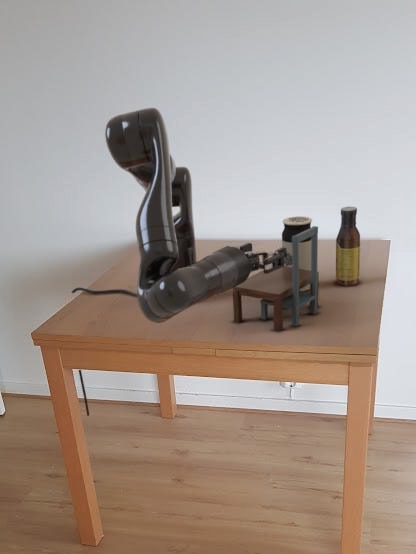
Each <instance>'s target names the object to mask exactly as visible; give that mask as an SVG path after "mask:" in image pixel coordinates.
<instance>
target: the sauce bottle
mask: <svg viewBox="0 0 416 554" xmlns="http://www.w3.org/2000/svg"><path fill="white" fill-rule="evenodd" d="M357 213H358V208H357V207H356V206H343V207H342V208H340V217H341V219H340V220H341V223H340V227H339V231H338V233H337V236H336V239H335V280H336V284H337V285H341V286H347V287H351V286H354V285H358V284H359V282H360V281H359V280H360V275H361V272H360V271H361V233H360V230H359V229H358V227H357Z"/></svg>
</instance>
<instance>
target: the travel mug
mask: <svg viewBox="0 0 416 554" xmlns="http://www.w3.org/2000/svg"><path fill="white" fill-rule="evenodd" d="M312 222H313V219H312V217H309V216H303V215H302V216H297V215H296V216H290V217H286V218H284V219H283V220H282V224H283V228H284V229H283V230H282V232H281V248H282V247H284V248H286V250H287V258H285V259H284V267H291V268H292V236H295V235H297V234H299V233H301V232H303V231H305V230H307V229H310V228H312ZM311 237H312V236H311ZM311 237H309V238H307V239H305V240H303V241H301V242H299V269H304V270H311ZM299 291H304V292H308V291H310V284H308V285H307V286H305V287H303V288H302V289H300V290H299Z"/></svg>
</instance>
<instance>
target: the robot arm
mask: <svg viewBox="0 0 416 554" xmlns="http://www.w3.org/2000/svg"><path fill="white" fill-rule="evenodd" d="M104 138H105V143H106V147H107V149H108V152H109V154H110V157H111V158H112V160H113V161H114V163H115V164H116V165H117V166H118V167H119V168H120V169H121V170H123V171H125V172H127V173H129V174H130V175H131V176H132V177H133V179H134V180H135V181H136V182H137V183H138V185H139V186H140V187H142V188H143V191H145V194H144V196H143V199H142V201H141V203H140V206H139V208H138V210H137V214H136V218H135V236H136V242H137V249H138V254H139V255H138V256H139V267H138V275H137V276H138V277H137V289H136V290H137V291H136V292H137V293H134V292H132V291H130V290H127V289H118V288H117V289H106V290H105V289H103V290H93V289H92V290H91V289H87V288H84V287H76V288H73V289H72V291H71V294H75V293H76V292H77V291H82V292H85V293H89V294H110V293H125V294H127V295H130V296H133V297H136V298H137V302H138V306H139V308H140V311H141V313H142V314H143V316H144V317H145V318H146V319H147V320H148V321H150V322H151V323H154V324H160V323H164V322H166V321H168V320H171V319H172V318H174V317H175V316H177V315H179V314H180V313H182V312H183V311H185V310H187V309H189V308H191V307H192V306H194V305H196V304H197V303H198V304H199V303H202V302H205V301H207V300H209V299H210V298H213V297H215V296H217V295H221V294H223V293H225V292H228V291H229V290H232V288H234V287H236V286H238V285H240V284H242V283H243V282H245V281H246V280H247V278H249V277H250V275H251V273H255V271H263V270H264V273H265V274H268V273H270V272H273V271H275V270H277V269H279V268H281V267H284V259H285V258H287V250H286V248H284V247H282V246H281V247H280V248H278V249H276V250H274V251H268V252H267V251H265V250H259V251H253V243H251V242H247V243H245V244H243V245H239V246H238V245H236V246H230V245H227V246H224V247H222V248H220V249H218V250H216V251H214V252H212V253H211V254H209V255H206V256H204V257H203V258H202V259H200V260H198V258H197V246H196V233H195V224H194V210H193V208H194V207H193V183H192V182H193V181H192V174H191V172H190V170H189V168H187V167H186V166H176V162H175V160H174V158H173V157H172V154H171V152H170V142H169V135H168V131H167V126H166V123H165V121H164V117H163V115H162V113H161V112H160V111H159V109H158V108H156V107H147V108H141V109H137V110H133V111H130V112H126V113H121V114H117V115H115V116H113V117H111V118H110V119H109V120H108V121H107V123H106V125H105V129H104ZM173 208H179V211H178V212H177V213H176V214H174V213H173ZM173 214H174V215H173ZM260 257H261V260H262V262H261V260H260ZM78 373H79V380H80V384H81V389H82V395H83V399H84V405H85V411H86V416H87V417H89V416H90V410H89V405H88V399H87V393H86V388H85V383H84V378H83V372H82V369H81V370H78Z"/></svg>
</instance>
